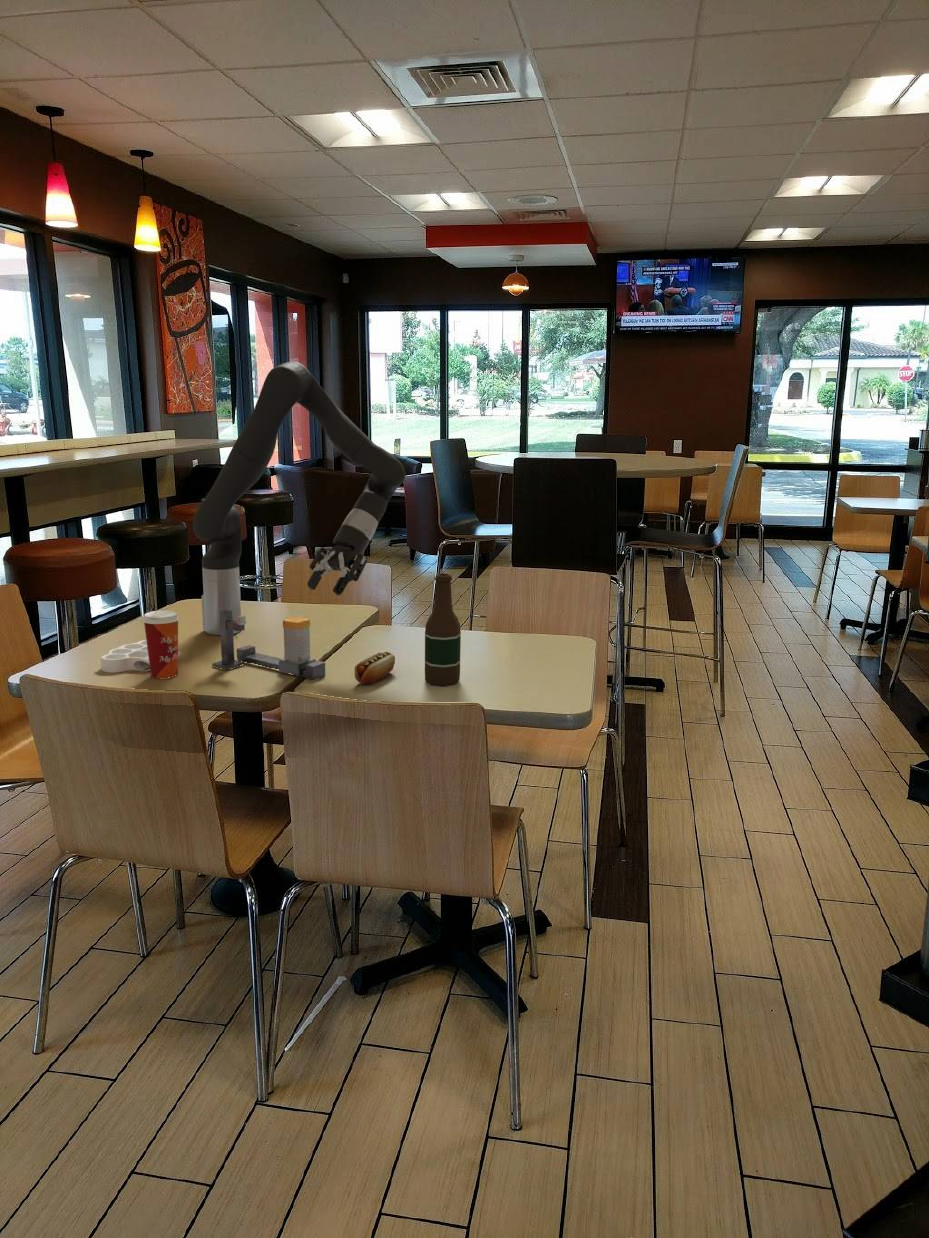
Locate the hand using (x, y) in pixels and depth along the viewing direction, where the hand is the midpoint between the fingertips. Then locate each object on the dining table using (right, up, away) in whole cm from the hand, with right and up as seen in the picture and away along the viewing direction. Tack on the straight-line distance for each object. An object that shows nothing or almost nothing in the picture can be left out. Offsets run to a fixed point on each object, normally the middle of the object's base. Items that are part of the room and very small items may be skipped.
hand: (323, 590), depth 210 cm
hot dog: (+13, -20, -6) cm, 25 cm away
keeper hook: (-21, -18, 0) cm, 27 cm away
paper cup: (-34, -19, -6) cm, 40 cm away
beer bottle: (+27, -20, -8) cm, 35 cm away
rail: (-10, -18, 0) cm, 20 cm away
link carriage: (-5, -18, -3) cm, 20 cm away
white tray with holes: (-43, -17, +3) cm, 47 cm away
